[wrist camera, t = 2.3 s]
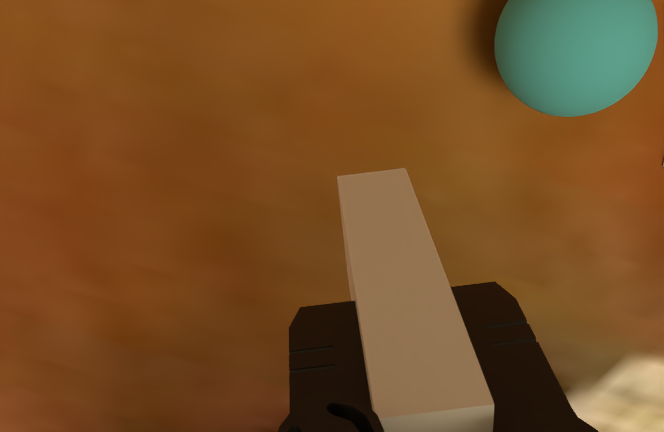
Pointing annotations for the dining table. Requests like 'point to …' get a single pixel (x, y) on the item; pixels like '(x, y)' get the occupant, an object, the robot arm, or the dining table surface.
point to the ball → (574, 52)
